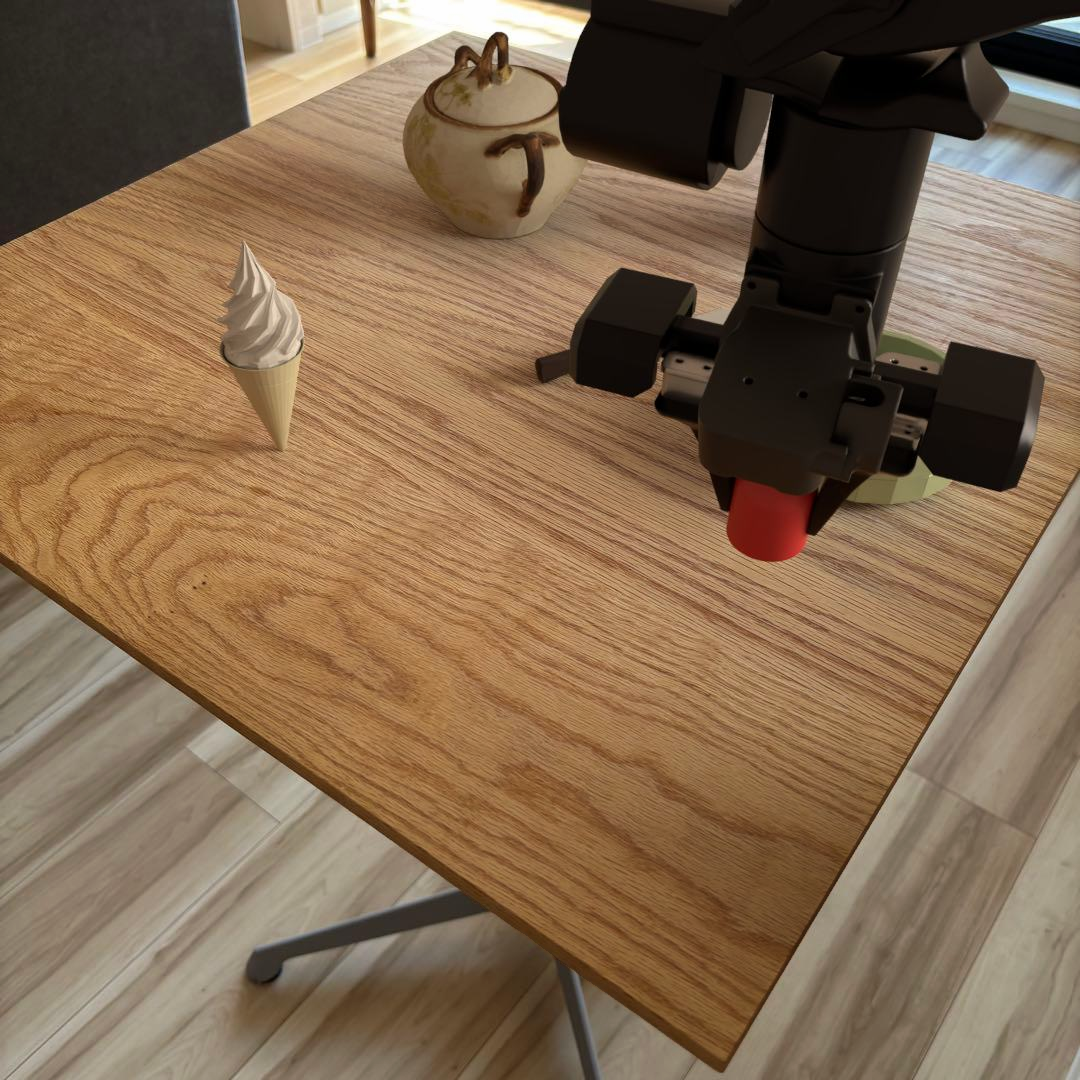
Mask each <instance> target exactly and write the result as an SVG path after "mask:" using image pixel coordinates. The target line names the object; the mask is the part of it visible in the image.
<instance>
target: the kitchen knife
mask: <svg viewBox="0 0 1080 1080" xmlns="http://www.w3.org/2000/svg"><path fill="white" fill-rule="evenodd" d="M732 308H733V307H723V308H718V309H713V310H710V311H707V312H703V313H700V314H696V315H693V316H692V318H696V319H700V320H705V321H709V322H713V323H718V324H722V325H723V324H724V322H725V320H726V319H727V317H728V315H729V313H730V311H731V310H732ZM569 356H570V348H568V349H565V350H562V351H558V352H554V353H551V354H548V355H544V356H540V357H537V358H536V359H535V361H534V367H535V372H536V378H537V380H538V382H540V383H541V384H547V383H550V382H551V381H553V380H556V379H558V378H560V377H563V376H566V375H569Z"/></svg>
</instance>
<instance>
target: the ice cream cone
mask: <svg viewBox="0 0 1080 1080" xmlns="http://www.w3.org/2000/svg"><path fill="white" fill-rule="evenodd" d="M276 286H277V281H275V279H274V278H273V277H272V276H271V274H270V273H268V271H267V270H266V269H265V267H263V266H262V265H261V263H260V261H259V260H258V259H257V257H256V256H255V255H254V253H253V252H252V251H251V249H250V248H249V246H248V244H247V243H246V241H245V240H242V241H241V247H240V252H239V256H238V260H237V264H236V268H235V272H234V276H233V277H232V279H231V281H230V282H229V284H228V285H227V288H229V289H231V290H233V291H234V292H233V294H232V295H231V297H230V298H229V299H228V300H226V301H225V302H222V303H221V307H224V308H226V309H227V313H226V314H224V315H223V316H219V317H217V318H216V322H218V323H220V324H221V325H222V324H223V325H226V326H227V331H225V332H224V333H222V334H220V336H219V340H220V344H219V347H218V353H219V356H220V359H222V361H223V362H224V363H225V364H226V365H227V366H228V367H229V369H230V371H231V372H232V374H233V376H234V378H235V379H236V382H237V383H238V385H239V386H240V388H241V390H242V391H243V393H244V394H245V395H244V396H246V398H247V399H248V401H249V403H250V405H251V406H252V408H253V410H254V412H255V414H256V415H257V417H258V418H259V419H260V421H261V423H262V425H263V427H264V428H265V430H266V432H267V433H268V434H269V436H270V439H272V441H273V443H274V444H275V447H276V448H277V450H278V451H280V452H284V451H286V450H287V446H288V439H289V433H290V427H291V421H292V414H293V409H294V402H295V397H296V389H297V385H298V377H299V370H300V363H301V358H302V352H303V351H304V348H305V344H306V341H305V331H304V328H303V327H304V326H303V324H302V316H301V314H300V312H299V310H298V308H297V306H296V304H295V302H294V300H293V298H292V297H290V296H288V295H287V294H284V293H283V292H282V291H280V290H278V289H277V287H276Z"/></svg>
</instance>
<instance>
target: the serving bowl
mask: <svg viewBox="0 0 1080 1080" xmlns="http://www.w3.org/2000/svg"><path fill="white" fill-rule="evenodd" d="M887 352H895V353H901V354H905V355H909V356H914V357H918V358H922V359H927V360H931V361H935V362H938V363H940V364H941V365H943V362H944V359H945V356H946V352H945V351H943V350H941V349H940V348H938V347H937V346H934V345H932V344H930V343H927V342H925V341H923V340H920V339H919V338H916V337H914V336H911V335H909V334H905V333H899V332H895V331H892V330H887V329H883V333H882V337H881V341H880V344H879V348H878V352H877V356H876V357H878V356H880V355H882V354H883V353H887ZM824 479H825V476H824V478H823V481H824ZM823 481H822V483H823ZM953 481H954V480H950V479H946V478H942V477H938V476H934V475H933V474H932V473H931V472H930V471H929V469H928V468H927V467H926V465H925V464H924V463H923V461H922V460H921V459H920V457H919V456H918V458H917V462H916V466H915V468H914V470H913V472H912V473H911V474H910V475H908V476H906V477H895V476H891V475H886V474H879V475H873V476H871V477H870V478H868V479H867V480H866V481H865V482H864V483H862V484H861V485H860V486H859V487H858V488H857V489H855V490H854V491H853V492H852V493H851V495H850V496H849V497H848V498H847V499H846V500H845V501H850V502H854V503H862V504H875V505H888V506H889V505H896V504H901V503H908V502H916V501H921V500H923V499H925V498H928V497H930V496H932V495H933V494H936V493H938V492H940V491H942V490H945V489H946V488H947V487H948V486H949V485H950V484H951V483H952V482H953ZM822 483H821V484H820V486H819V489H818V492H819V491H820V488H821V486H822Z"/></svg>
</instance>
